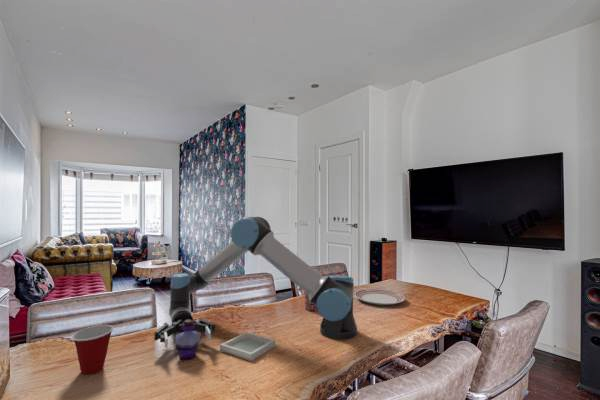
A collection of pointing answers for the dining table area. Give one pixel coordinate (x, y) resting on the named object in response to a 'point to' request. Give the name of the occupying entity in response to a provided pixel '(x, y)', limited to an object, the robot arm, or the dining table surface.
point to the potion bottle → (187, 341)
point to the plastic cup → (92, 347)
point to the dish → (248, 346)
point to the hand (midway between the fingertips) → (188, 340)
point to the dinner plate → (379, 296)
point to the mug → (309, 304)
